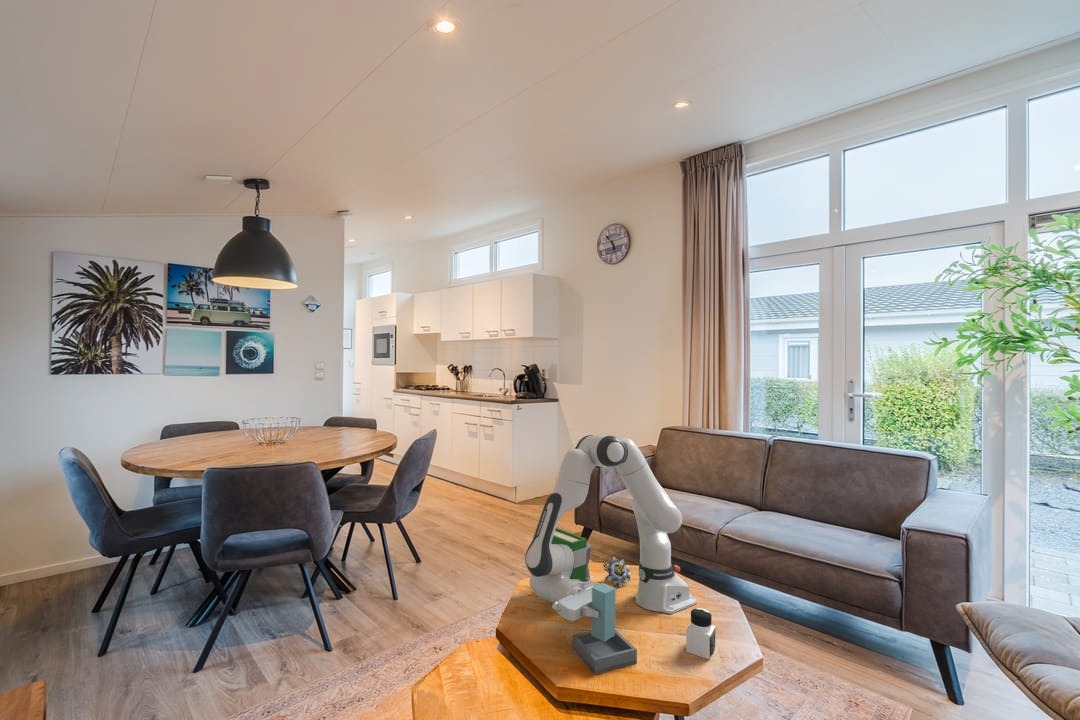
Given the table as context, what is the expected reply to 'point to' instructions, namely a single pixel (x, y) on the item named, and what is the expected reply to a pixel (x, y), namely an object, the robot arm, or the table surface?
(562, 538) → the hardback book
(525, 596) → the table surface
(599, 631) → the tall teal prism
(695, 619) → the medicine bottle
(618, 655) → the box
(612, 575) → the passion flower
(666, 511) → the robot arm
